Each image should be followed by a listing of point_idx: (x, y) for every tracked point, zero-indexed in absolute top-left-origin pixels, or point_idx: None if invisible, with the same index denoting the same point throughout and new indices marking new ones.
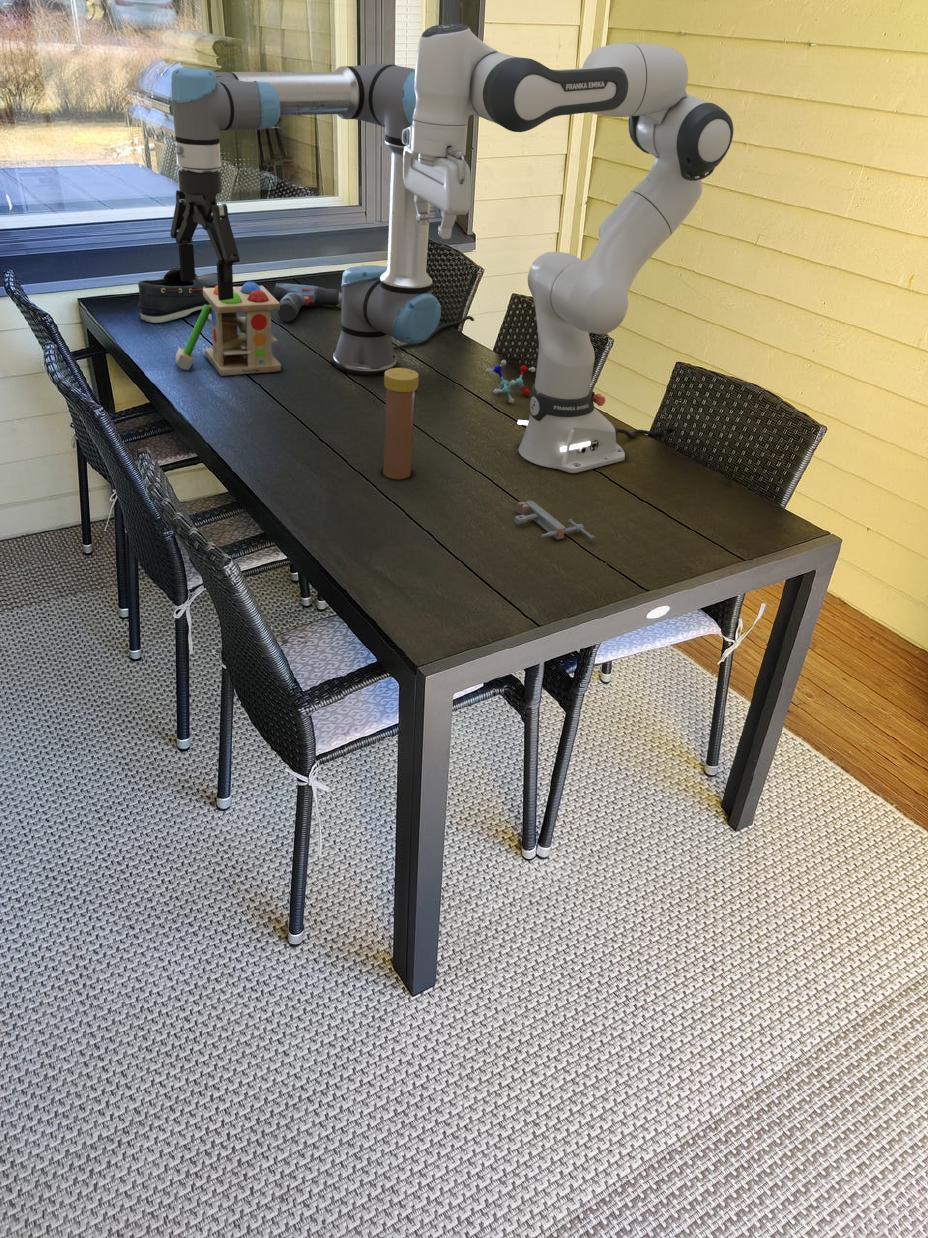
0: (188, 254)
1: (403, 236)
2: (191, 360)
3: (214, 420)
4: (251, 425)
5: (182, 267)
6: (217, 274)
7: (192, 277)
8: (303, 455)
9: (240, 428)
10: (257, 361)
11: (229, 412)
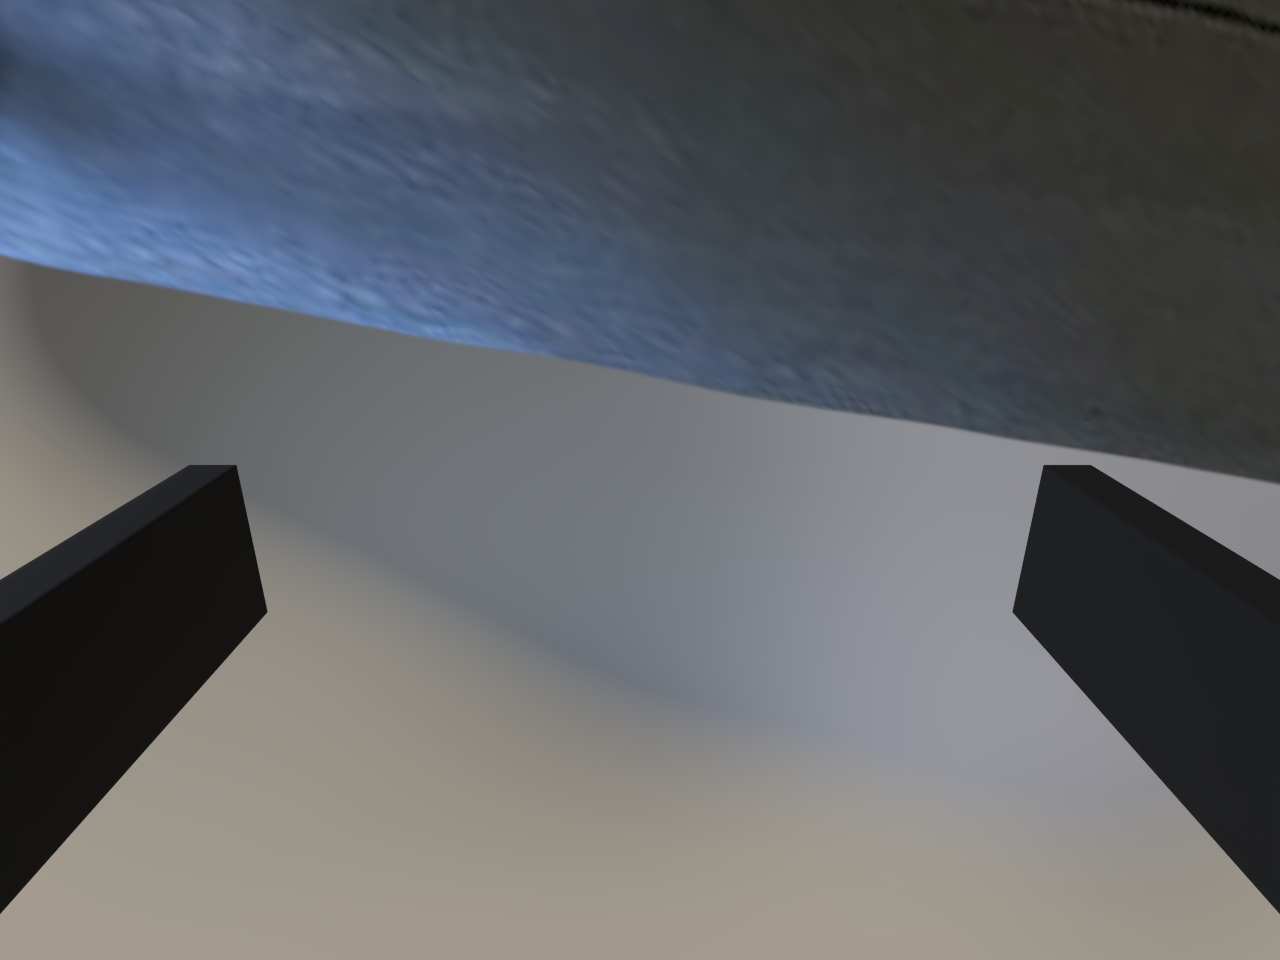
0: (28, 729)
1: None
2: None
3: (577, 269)
4: (699, 162)
5: (183, 704)
6: (1208, 821)
7: (230, 512)
8: (1063, 147)
9: (700, 221)
10: None
11: (533, 167)
